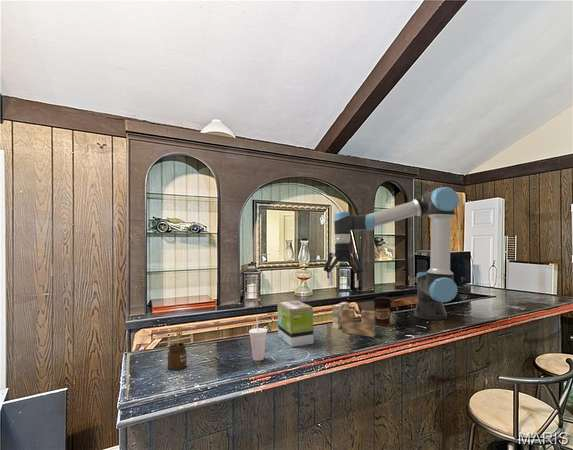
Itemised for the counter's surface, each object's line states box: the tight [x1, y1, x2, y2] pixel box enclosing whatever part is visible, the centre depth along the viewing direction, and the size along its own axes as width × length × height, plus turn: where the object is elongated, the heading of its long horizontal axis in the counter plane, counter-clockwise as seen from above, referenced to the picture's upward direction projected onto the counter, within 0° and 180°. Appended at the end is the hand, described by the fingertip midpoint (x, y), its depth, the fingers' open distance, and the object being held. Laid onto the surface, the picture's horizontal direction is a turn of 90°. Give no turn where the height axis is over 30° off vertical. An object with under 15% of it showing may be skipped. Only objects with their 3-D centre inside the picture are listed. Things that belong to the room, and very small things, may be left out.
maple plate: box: [331, 301, 350, 330], centre depth 152 cm, size 13×2×10 cm, turn 146°
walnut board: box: [341, 308, 376, 338], centre depth 138 cm, size 14×2×10 cm, turn 56°
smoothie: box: [248, 316, 268, 362], centre depth 111 cm, size 6×6×14 cm
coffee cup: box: [373, 296, 392, 327], centre depth 151 cm, size 9×8×13 cm
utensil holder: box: [167, 326, 188, 371], centre depth 105 cm, size 6×6×12 cm
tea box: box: [277, 300, 315, 348], centre depth 131 cm, size 15×10×15 cm, turn 22°
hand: (343, 286), depth 156 cm, fingers open, 13 cm apart
